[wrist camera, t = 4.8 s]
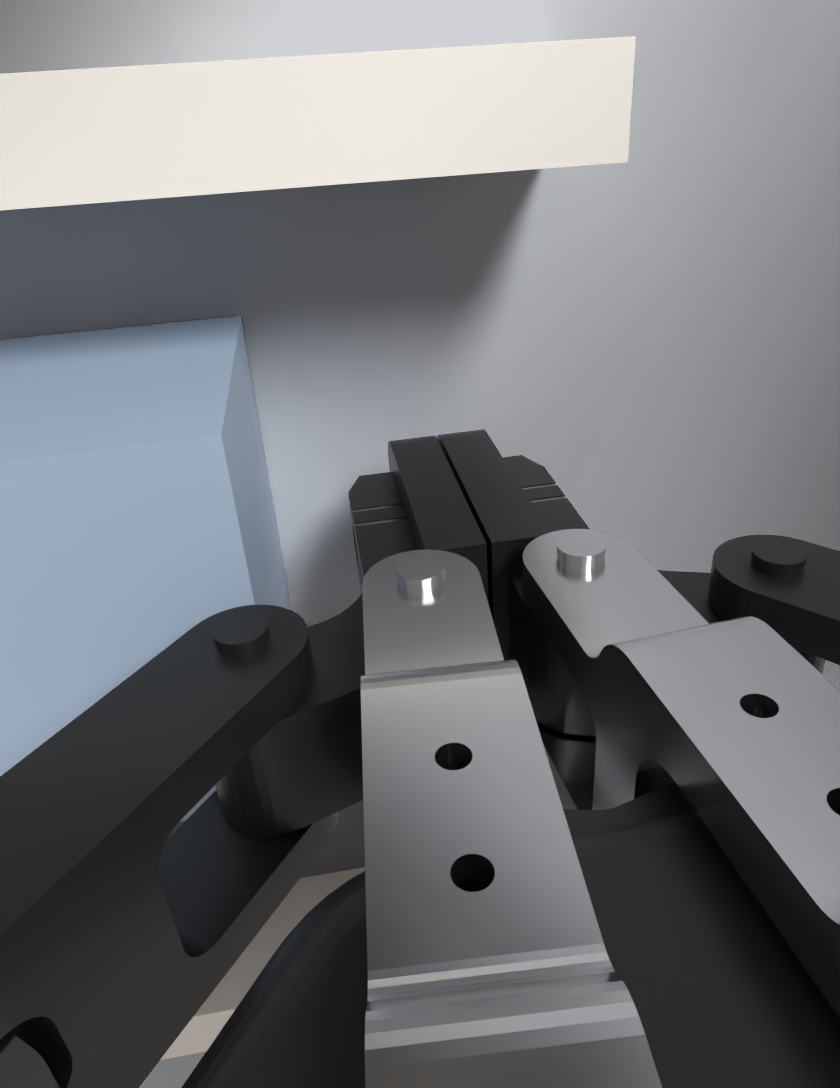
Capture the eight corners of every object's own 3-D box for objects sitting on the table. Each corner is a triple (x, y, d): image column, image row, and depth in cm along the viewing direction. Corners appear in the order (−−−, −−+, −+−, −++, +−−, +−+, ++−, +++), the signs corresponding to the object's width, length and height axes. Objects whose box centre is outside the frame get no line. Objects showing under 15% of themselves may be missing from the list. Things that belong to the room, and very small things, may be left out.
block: (240, 315, 12) (222, 436, 8) (288, 593, 14) (294, 803, 10) (-111, 350, 11) (-343, 501, 7) (1, 633, 14) (-121, 871, 10)
